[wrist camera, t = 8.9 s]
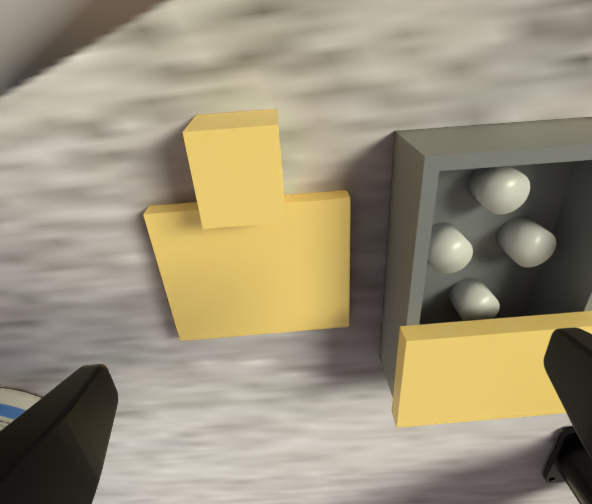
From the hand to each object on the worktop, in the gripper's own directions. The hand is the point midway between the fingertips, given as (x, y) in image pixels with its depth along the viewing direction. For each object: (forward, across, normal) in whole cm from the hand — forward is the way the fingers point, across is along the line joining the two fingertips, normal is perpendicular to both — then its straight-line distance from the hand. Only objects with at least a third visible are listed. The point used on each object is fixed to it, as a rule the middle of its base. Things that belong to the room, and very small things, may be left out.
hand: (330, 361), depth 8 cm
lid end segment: (+12, +3, +3) cm, 13 cm away
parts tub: (+12, -9, +5) cm, 16 cm away
